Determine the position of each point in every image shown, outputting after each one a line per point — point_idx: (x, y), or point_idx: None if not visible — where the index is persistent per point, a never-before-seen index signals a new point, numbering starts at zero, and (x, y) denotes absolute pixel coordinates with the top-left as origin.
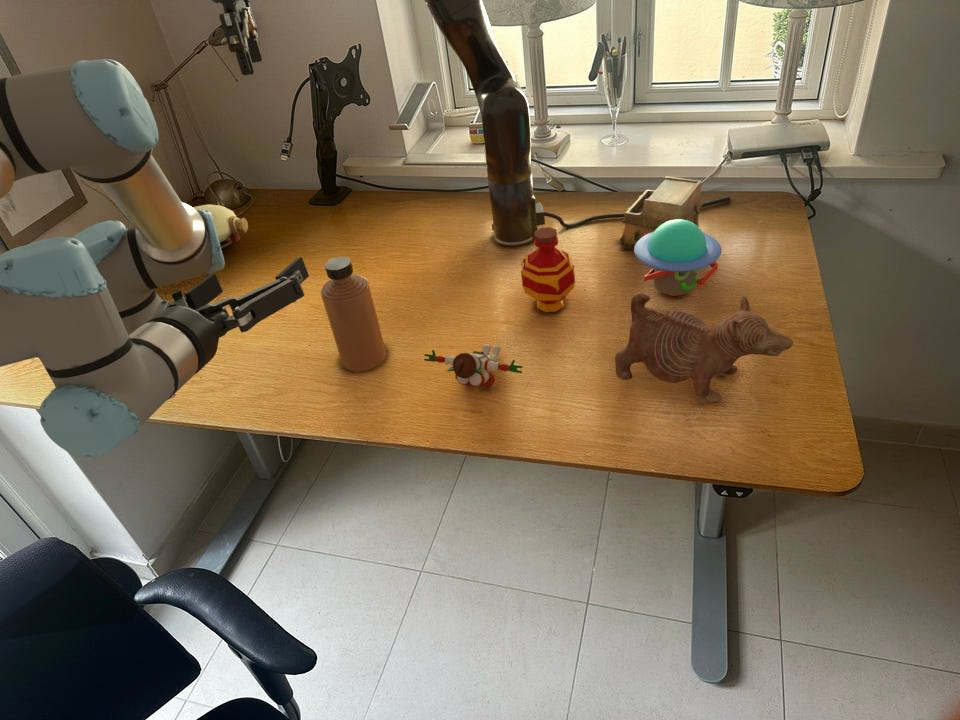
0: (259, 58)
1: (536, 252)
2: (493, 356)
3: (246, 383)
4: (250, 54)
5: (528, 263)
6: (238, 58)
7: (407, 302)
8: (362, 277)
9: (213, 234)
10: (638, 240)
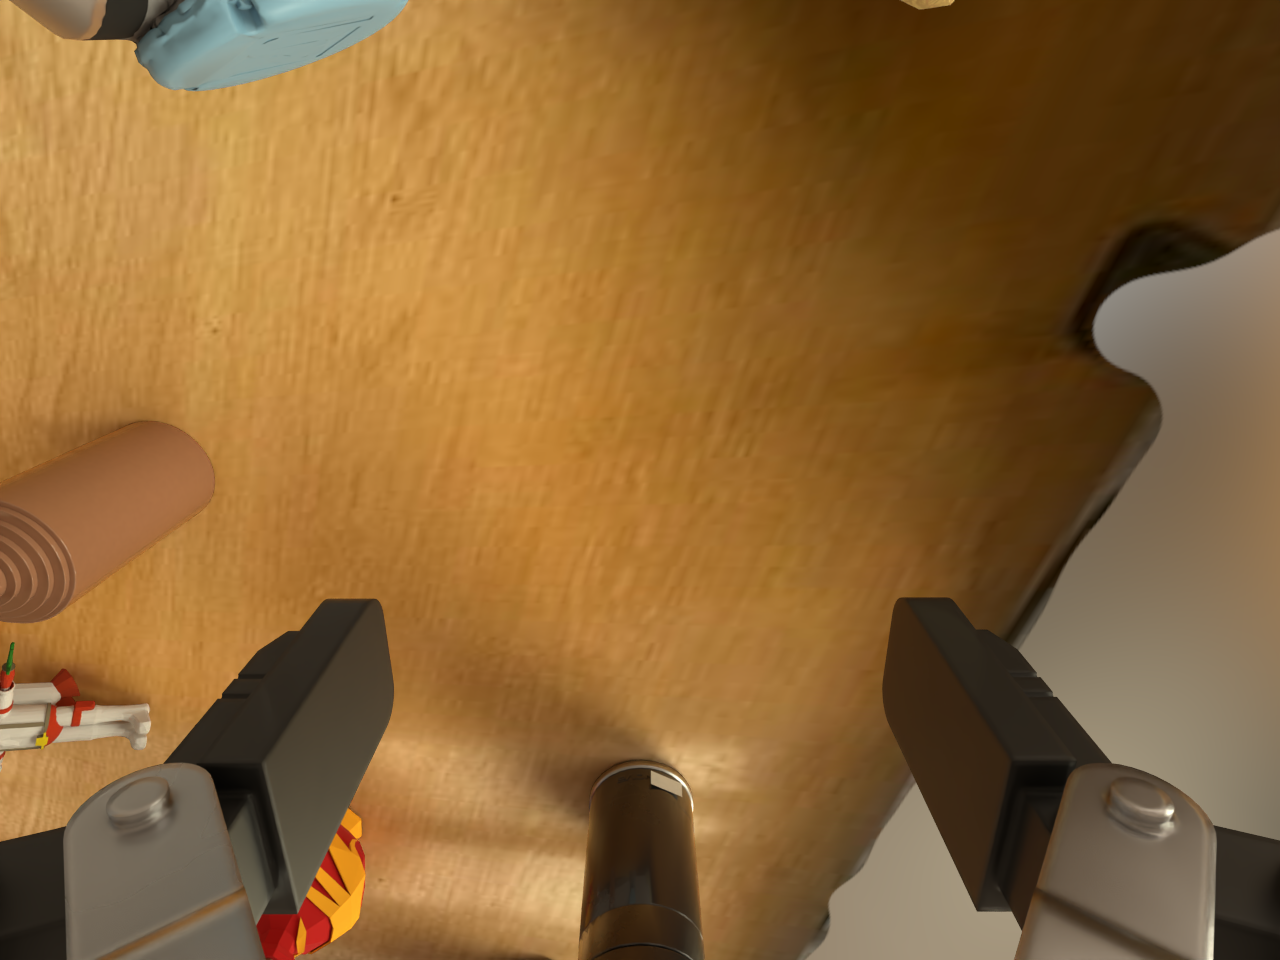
0: (892, 706)
1: (285, 920)
2: (106, 736)
3: (47, 172)
4: (931, 663)
5: None
6: (176, 751)
7: (387, 564)
8: (43, 612)
9: (148, 69)
10: None
